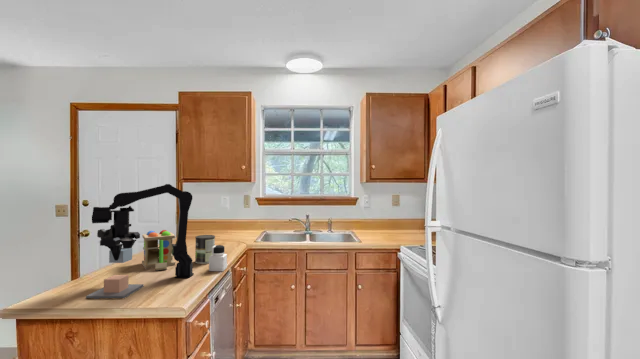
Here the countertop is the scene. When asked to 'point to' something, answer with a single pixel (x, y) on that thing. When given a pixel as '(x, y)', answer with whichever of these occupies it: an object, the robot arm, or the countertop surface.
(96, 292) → the base plate
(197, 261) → the coffee can
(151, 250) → the pounding bench toy
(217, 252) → the medicine bottle
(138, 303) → the countertop surface
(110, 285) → the terracotta brick
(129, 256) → the slate-grey brick
